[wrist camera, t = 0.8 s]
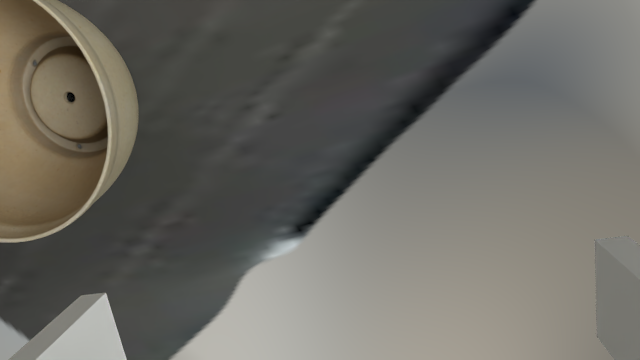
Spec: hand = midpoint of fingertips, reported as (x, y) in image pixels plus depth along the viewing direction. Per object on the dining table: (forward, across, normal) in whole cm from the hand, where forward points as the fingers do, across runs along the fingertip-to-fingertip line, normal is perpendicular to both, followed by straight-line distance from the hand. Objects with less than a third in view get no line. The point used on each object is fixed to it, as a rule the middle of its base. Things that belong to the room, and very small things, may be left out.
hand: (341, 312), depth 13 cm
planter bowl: (+26, -22, +6) cm, 34 cm away
